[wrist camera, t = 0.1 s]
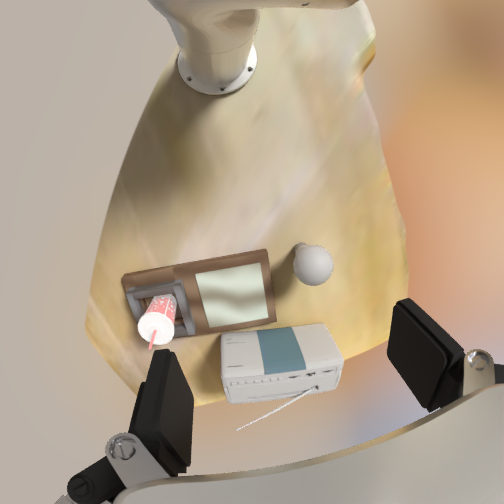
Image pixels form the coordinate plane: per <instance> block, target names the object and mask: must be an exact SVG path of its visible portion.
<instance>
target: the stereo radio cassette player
mask: <svg viewBox="0 0 504 504" xmlns="http://www.w3.org/2000/svg"><path fill="white" fill-rule="evenodd" d="M343 363H344V359H343V357H342V354H341V352H340V350H339V348H338V346H337V345H336V343H335V341H334V339H333V337H332V335H331V334H330V332H329V330H328V329H327V327H326V326H325V324H323V323H317V324H310V325H302V326H294V327H285V328H276V329H267V330H257V331H245V332H232V333H223V334H222V335H221V337H220V365H221V380H222V384H223V388H224V391H225V394H226V398H227V401H228V402H229V403H230V404H239V403H251V402H261V401H269V400H277V399H285V398H292V397H296V398H294V399H292V400H291V401H289V402H287V403H285V404H284V405H282V406H280V407H278V408H277V409H275V410H273V411H271V412H269V413H267V414H266V415H264V416H262V417H260V418H258V419H256V420H254V421H252V422H251V423H249V424H247V425H250V424H252V423H254V422H256V421H258V420H260V419H262V418H265V417H266V416H268V415H270V414H272V413H274V412H276V411H278V410H280V409H282V408H283V407H285V406H287V405H289V404H290V403H292V402H294V401H296V400H297V399H299V398H301V397H302V396H304V395H310V394H316V393H321V392H326V391H331V390H334V389H335V388H336V387H337V385H338V382H339V380H340V377H341V370H342V368H343ZM247 425H245V426H247ZM245 426H243V427H245ZM241 428H242V427H241ZM241 428H237V429H236V430H237V431H239V430H240V429H241Z"/></svg>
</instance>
